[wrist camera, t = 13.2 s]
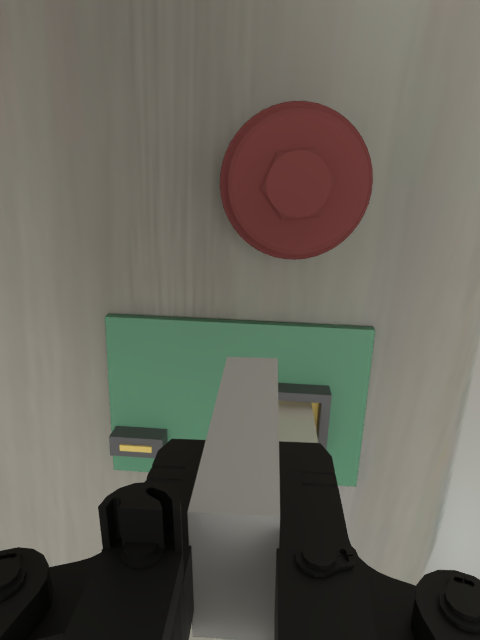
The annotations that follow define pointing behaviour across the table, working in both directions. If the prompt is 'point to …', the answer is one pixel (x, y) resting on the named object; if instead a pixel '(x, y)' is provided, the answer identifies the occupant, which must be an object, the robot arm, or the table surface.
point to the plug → (296, 422)
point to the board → (206, 373)
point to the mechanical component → (296, 180)
